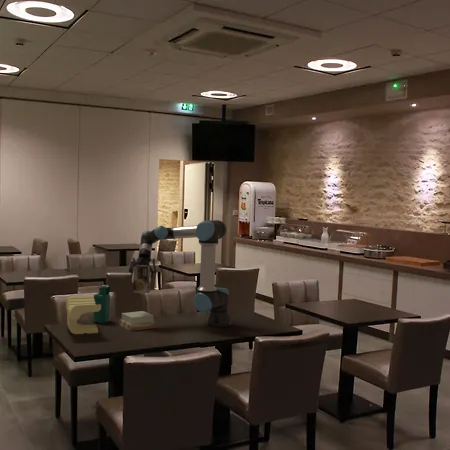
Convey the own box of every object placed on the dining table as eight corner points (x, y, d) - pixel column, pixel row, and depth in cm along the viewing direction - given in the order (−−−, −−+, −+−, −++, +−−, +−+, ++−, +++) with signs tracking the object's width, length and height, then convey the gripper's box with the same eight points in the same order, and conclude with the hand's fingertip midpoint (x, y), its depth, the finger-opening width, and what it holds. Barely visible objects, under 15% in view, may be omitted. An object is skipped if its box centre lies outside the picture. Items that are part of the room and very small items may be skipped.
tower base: (155, 328, 326) (155, 322, 326) (129, 331, 317) (130, 324, 317) (143, 323, 340) (143, 317, 339) (119, 326, 331) (119, 319, 331)
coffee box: (150, 291, 335) (151, 265, 334) (147, 293, 328) (148, 266, 327) (136, 290, 336) (136, 264, 335) (132, 292, 330) (133, 266, 329)
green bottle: (103, 323, 333) (104, 287, 332) (91, 322, 336) (92, 286, 335) (112, 320, 343) (112, 285, 342) (100, 319, 345) (100, 284, 344)
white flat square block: (153, 321, 327) (153, 315, 326) (131, 324, 319) (131, 317, 318) (142, 317, 338) (142, 311, 338) (121, 319, 330) (121, 313, 330)
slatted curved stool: (65, 325, 325) (66, 296, 324) (93, 324, 331) (93, 295, 330) (70, 338, 297) (71, 305, 296) (100, 336, 303) (101, 304, 302)
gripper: (163, 256, 346) (160, 285, 331) (128, 255, 346) (123, 284, 331) (162, 249, 341) (159, 278, 326) (126, 248, 340) (121, 277, 326)
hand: (141, 281), depth 329 cm, fingers closed on coffee box, 9 cm apart
